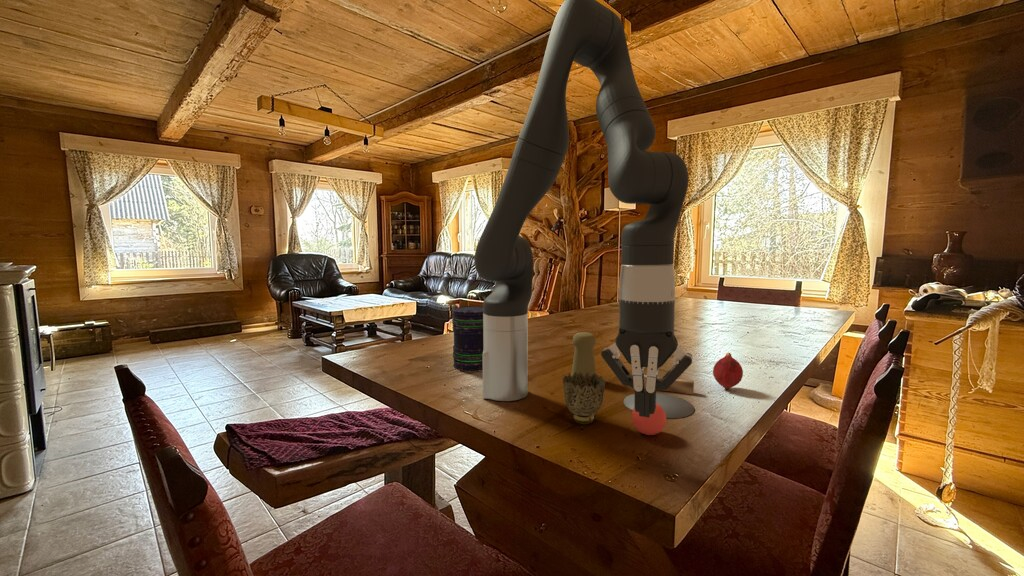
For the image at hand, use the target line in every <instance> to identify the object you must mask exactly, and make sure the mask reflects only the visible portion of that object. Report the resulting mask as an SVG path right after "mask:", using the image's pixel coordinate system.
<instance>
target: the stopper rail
mask: <svg viewBox="0 0 1024 576" xmlns="http://www.w3.org/2000/svg"><path fill="white" fill-rule="evenodd" d="M661 378H663V376H659V375H658V376H657V379H661ZM644 380H645V388H646V383H647V374H644ZM694 387H695V380H691V379H690V380H689V379H683V378H677V379H676V380H675V382H674V383H673V384H672V385H671V386H670V387H669V388H668V389H667V390H662V391H664V392H672V393H678V394H687V395H694V392H695V391H694V390H695V389H694Z"/></svg>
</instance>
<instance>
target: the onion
mask: <svg viewBox="0 0 1024 576" xmlns="http://www.w3.org/2000/svg"><path fill="white" fill-rule="evenodd" d="M712 375H713V377H714V379H715V381H716V382H717V384H719V385H720V386H721V387H722V388H724V389H726V390H729V389H731V388H733V387H735V386H737V385H738V384H739V383H740V382H742V380H743V376H744V369H743V367H742V365H741V364H740V362H739V361H738V360H737V359H736V358H734V357H733V356H732V353H731V352H726V353H725V356H724V357H721V358H720V359H718V360H717V361H716V362H715V364H714V365H713V369H712Z"/></svg>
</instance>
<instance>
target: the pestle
mask: <svg viewBox="0 0 1024 576" xmlns="http://www.w3.org/2000/svg"><path fill="white" fill-rule="evenodd" d="M596 341H597V340H596V336H595V335H594V334H593V333H591V332H587V331H585V332H583V331H580V332H576V333H574V335H573V337H572V344H573V346H574V352H573V358H572V359H573V360H572V367H571V374H570V375H571V376H573V375H574V373H575V372H576V373H577V374H578V373H579V372H581V373H582V374H583V375H584V376H585V374H586V373H587V372H588V373H589V374H590V375H589V376H591V375H593V374H594V373H596V374H597V371H596V362H595V354H594V353H595V352H594V346H595V345H596Z"/></svg>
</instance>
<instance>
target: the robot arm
mask: <svg viewBox="0 0 1024 576" xmlns="http://www.w3.org/2000/svg"><path fill="white" fill-rule="evenodd" d="M630 57H631V56H630V52H629V48H628V42H627V37H626V32H625V29H624V25H623V23H622V20H621V18H620V17H619V16H618V15H617V14H616V13H615V12H614V11H612V10H611V9H610V8H608V7H607V6H606V5H604V4H603V3H601V2H599V1H598V0H564V1H563V2H562V3H561V6H560V7H559V9H558V11H557V13H556V15H555V18H554V20H553V23H552V26H551V30H550V33H549V36H548V39H547V44H546V48H545V52H544V56H543V59H542V63H541V67H540V70H539V71H540V72H539V74H538V79H537V82H536V86H535V90H534V93H533V96H532V99H531V102H530V105H529V108H528V111H527V114H526V117H525V119H524V121H523V125H522V127H521V130H520V133H519V135H518V138H517V141H516V144H515V147H514V149H513V153H512V155H511V156H512V157H511V160H510V163H509V166H508V168H507V172H506V174H505V177H504V180H503V182H502V185H501V188H500V190H499V194H498V196H497V199H496V203H495V204H494V206H493V209H492V211H491V214H490V216H489V219H488V220H487V223H486V225H485V226H484V229H483V231H482V233H481V235H480V238H479V240H478V242H477V244H476V247H475V248H476V249H475V250H474V251H475V252H474V266H475V270H476V272H477V275H479V277H481V278H482V279H483V280H486V281H491V282H495V286H494V289H493V290H492V292H491V293H490V294H489V295H488V296H487V297H486V298H485V299H484V300H483V302H482V307H483V370H482V399H488V400H491V401H492V400H493V401H499V402H512V401H518V400H522V399H524V398H526V397H527V396H528V393H529V390H528V387H529V382H528V381H529V380H528V379H529V378H528V377H529V376H528V373H529V372H528V370H529V368H528V367H529V366H528V363H529V362H528V361H529V360H528V359H529V354H528V353H529V352H528V351H529V350H528V347H529V345H528V344H529V343H528V342H529V337H528V336H529V335H528V334H529V333H528V331H529V326H528V325H529V323H528V321H529V319H528V318H529V314H528V313H529V311H528V310H529V304H530V301H531V299H532V295H533V279H534V278H533V276H534V256H533V255H534V254H533V250H532V247H531V245H530V243H529V242H528V240H527V239H526V238H525V237H523V236H521V235H520V233H521V230H522V228H523V226H524V223H525V222H526V220H527V218H528V217H529V215H530V214H531V212H532V211H533V209H535V207H536V206H537V205H538V204H539V203H540V201H541V200H542V199H543V198H544V197H545V196H546V194H547V193H548V192H549V191H550V190H551V188H552V187H553V185H554V184H555V182H556V180H557V178H558V175H559V173H560V171H561V168H562V166H563V163H564V160H565V158H566V155H567V152H568V149H569V145H570V129H569V119H568V111H567V100H566V99H567V95H566V94H567V86H568V81H569V78H570V72H571V69H572V66H573V62H574V63H576V64H578V65H581V67H585V68H589V70H591V72H592V73H593V74H594V76H595V77H596V78H597V81H598V82H599V85H600V88H599V91H598V92H597V93H598V94H597V97H596V103H595V112H596V117H597V121H598V124H599V128H600V130H601V132H602V135H603V138H604V141H605V143H606V146H607V147H606V149H607V165H608V167H607V171H608V172H607V176H608V177H607V179H608V180H607V182H608V183H607V184H608V187H609V190H610V193H612V195H613V196H614V198H615V199H617V200H618V201H619V202H621V203H624V204H631V205H633V204H634V205H635V204H636V205H649V207H648V210H647V213H646V215H645V217H644V218H643V219H642V220H638V221H634V222H630V223H628V224H626V225H624V227H623V228H622V232H621V240H620V241H621V250H620V251H621V255H620V256H621V257H620V258H621V264H620V265H621V266H620V273H619V279H618V280H619V282H618V284H619V285H618V291H617V292H618V294H617V295H618V333H617V335H616V337H615V340H614V341H615V342H614V343H613V344H611V345H610V346H607V347H605V348H604V349H603V350H602V351H601V353H600V356H601V357H602V359H603V360H604V362H605V363H606V364H607V366H608V367H609V368H610V369H611V371H612V372H613V374H614V375H615V376H616V378H617V379H618V381H619V382H620V383H621V384H622V385H623V386H625V387H626V386H627V387H630V388H632V389H633V391H634V394H635V411H636V412H639V416H642V417H644V416H645V417H648V418H650V415H651V414H654V412H655V409H656V393H658V391H663V390H667V389H668V388H669V387H670V386H671V385H672V384H673V383H674V382H675V380H676V379H679V378H680V377H681V376H682V374H683V373H684V372H685V371H687V369H688V368H689V367H690V366H691V365H692V363H693V355H692V354H691V353H689V352H686V351H684V350H683V349H682V348H681V347H679V346H678V345H679V342H678V340H677V337H676V335H675V309H676V308H675V305H676V304H675V301H676V279H675V278H676V277H675V268H674V258H675V257H674V255H675V254H674V253H675V252H674V250H675V246H674V245H675V239H674V238H675V234H676V229H677V226H678V223H679V219H680V215H681V211H682V210H683V209H682V208H683V205H684V202H685V199H686V195H687V191H688V188H689V171H688V166H687V165H686V162H685V161H684V159H683V158H682V156H680V155H678V154H677V153H673V152H667V151H666V152H665V151H664V152H663V151H647V150H649V148H650V147H651V146H652V145H653V143H654V141H655V139H656V127H655V123H654V121H653V119H652V116H651V114H650V112H649V109H648V108H647V107H648V106H647V105H646V103H645V100H644V98H643V96H642V95H641V92H640V89H639V87H638V84H637V80H636V78H635V77H636V76H635V73H634V69H633V65H632V62H631V61H632V60H631V58H630ZM620 353H621V354H622V356H623V357H624V359H625V360H626V361H627V362H628V364H629V365H631V372H630V371H629V370H628V368H627V367H626V366H625V363H624V362H622V360H621V358H620V357H621V354H620ZM672 355H674V357H673V360H672V362H673V363H672V364H673V366H672V367H670V369H669V370H668V371H667V372H666V373H665V374H664V375H663V376H662V377H663V378H661V379H657V376H658V377H659V369H660V368H661V367H662V366H664V365H665V364H666V362H667V361H668V360H669V358H671V357H672ZM645 368H647V370H646V375H647V383H646V388H645V380H644V375H645ZM631 373H632V374H631Z"/></svg>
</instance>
